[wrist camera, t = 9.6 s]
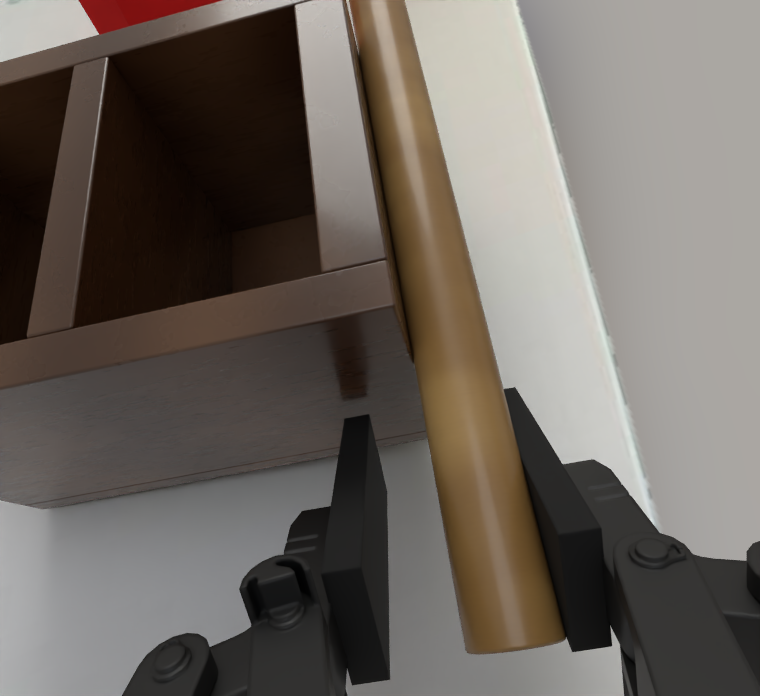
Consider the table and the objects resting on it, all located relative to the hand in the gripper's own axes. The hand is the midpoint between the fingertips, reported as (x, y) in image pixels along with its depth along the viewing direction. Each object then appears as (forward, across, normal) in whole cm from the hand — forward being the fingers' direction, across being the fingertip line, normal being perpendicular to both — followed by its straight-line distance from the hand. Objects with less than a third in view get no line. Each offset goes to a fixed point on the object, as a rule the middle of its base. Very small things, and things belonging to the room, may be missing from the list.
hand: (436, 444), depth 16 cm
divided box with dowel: (+8, -7, +3) cm, 11 cm away
